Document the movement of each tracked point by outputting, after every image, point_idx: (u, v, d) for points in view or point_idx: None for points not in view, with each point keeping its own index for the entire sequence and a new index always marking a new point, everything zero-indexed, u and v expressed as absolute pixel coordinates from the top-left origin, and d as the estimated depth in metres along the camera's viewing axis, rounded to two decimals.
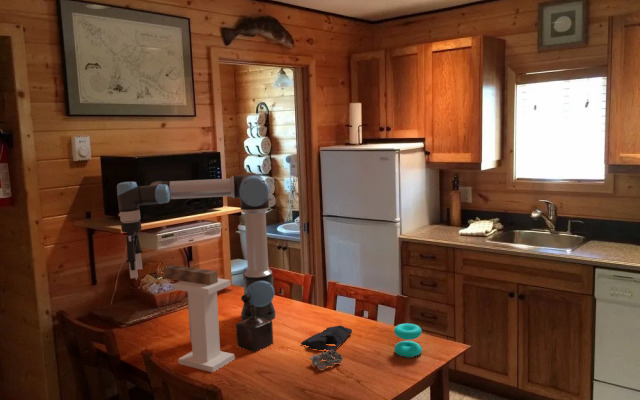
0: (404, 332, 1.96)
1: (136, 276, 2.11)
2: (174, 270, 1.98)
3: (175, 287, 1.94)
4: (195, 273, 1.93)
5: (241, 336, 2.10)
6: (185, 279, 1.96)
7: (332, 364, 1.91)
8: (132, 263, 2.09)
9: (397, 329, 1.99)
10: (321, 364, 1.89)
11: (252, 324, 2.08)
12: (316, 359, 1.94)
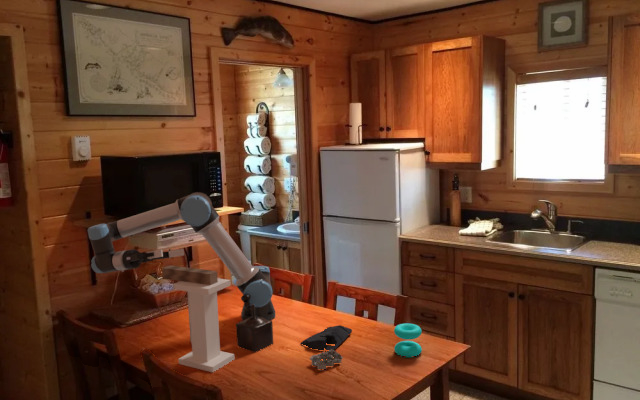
0: (404, 332, 1.96)
1: (160, 250, 2.02)
2: (173, 270, 1.98)
3: (175, 287, 1.94)
4: (195, 273, 1.93)
5: (241, 336, 2.10)
6: (184, 279, 1.96)
7: (332, 364, 1.91)
8: (145, 254, 2.03)
9: (397, 329, 1.99)
10: (321, 364, 1.89)
11: (252, 324, 2.08)
12: (316, 359, 1.95)
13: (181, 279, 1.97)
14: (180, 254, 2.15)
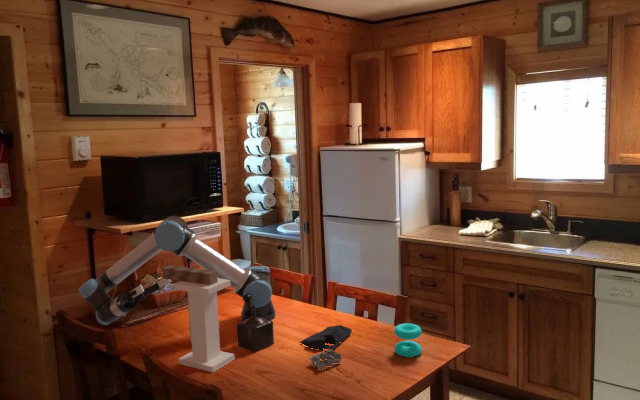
0: (404, 332, 1.96)
1: (139, 286, 2.01)
2: (173, 270, 1.98)
3: (175, 287, 1.94)
4: (195, 273, 1.93)
5: (241, 336, 2.10)
6: (184, 279, 1.96)
7: (332, 364, 1.91)
8: (129, 294, 2.03)
9: (397, 329, 1.99)
10: (321, 364, 1.89)
11: (252, 324, 2.08)
12: (315, 359, 1.95)
13: (181, 279, 1.97)
14: (167, 281, 2.13)
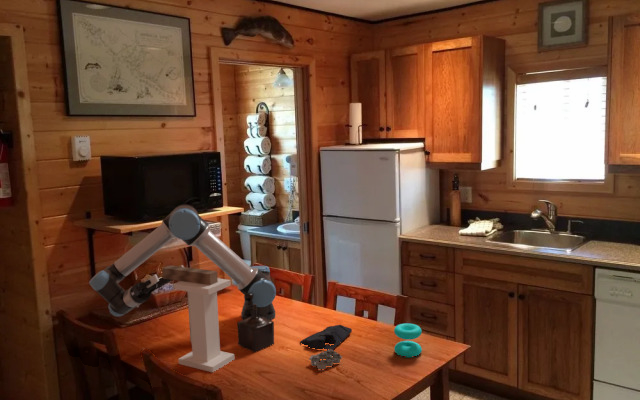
0: (404, 332, 1.96)
1: (154, 276, 1.96)
2: (173, 270, 1.98)
3: (175, 287, 1.94)
4: (195, 273, 1.93)
5: (242, 335, 2.10)
6: (184, 279, 1.96)
7: (331, 364, 1.92)
8: (143, 284, 1.98)
9: (397, 329, 1.99)
10: (321, 364, 1.89)
11: (253, 324, 2.08)
12: (315, 359, 1.95)
13: (181, 279, 1.97)
14: None
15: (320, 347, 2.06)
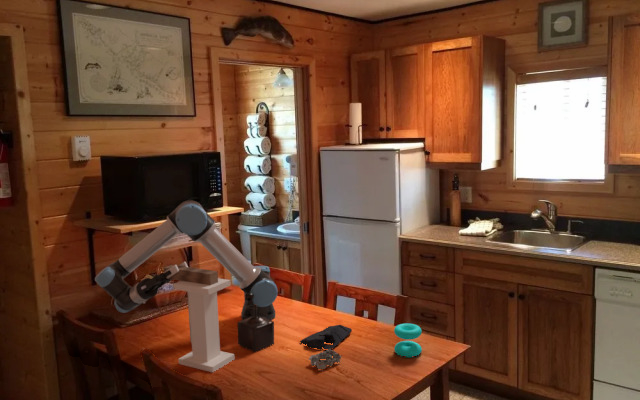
0: (404, 332, 1.96)
1: (174, 266, 1.97)
2: None
3: (175, 287, 1.94)
4: (195, 273, 1.93)
5: (242, 335, 2.10)
6: (185, 279, 1.96)
7: (331, 363, 1.92)
8: (163, 275, 1.99)
9: (397, 329, 1.99)
10: (320, 364, 1.90)
11: (253, 324, 2.08)
12: (315, 359, 1.95)
13: (182, 279, 1.97)
14: None
15: (319, 347, 2.06)
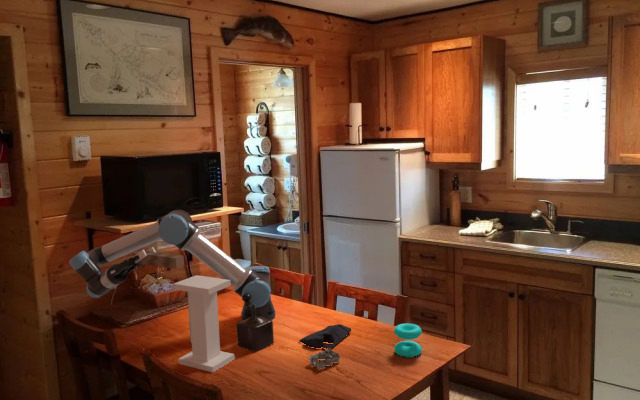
0: (404, 332, 1.96)
1: (142, 251, 2.04)
2: None
3: (175, 287, 1.94)
4: (162, 257, 2.00)
5: (241, 336, 2.10)
6: (152, 263, 2.03)
7: (331, 363, 1.92)
8: (132, 259, 2.05)
9: (397, 329, 1.99)
10: (320, 364, 1.90)
11: (252, 324, 2.08)
12: (314, 359, 1.95)
13: (149, 263, 2.04)
14: None
15: (318, 346, 2.07)
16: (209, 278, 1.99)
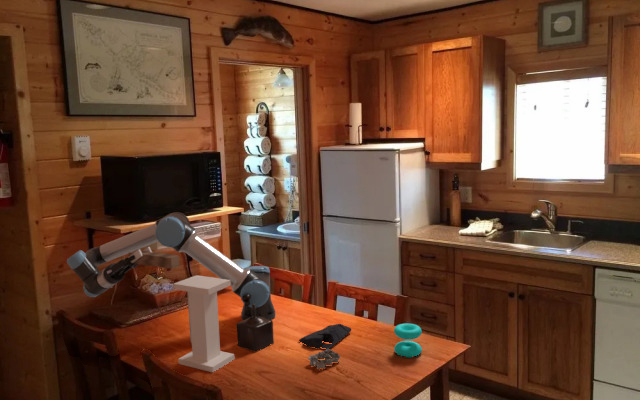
0: (404, 332, 1.96)
1: (138, 251, 2.05)
2: None
3: (175, 287, 1.94)
4: (158, 257, 2.02)
5: (241, 336, 2.10)
6: (148, 263, 2.04)
7: (330, 363, 1.92)
8: (128, 259, 2.07)
9: (397, 329, 1.99)
10: (320, 363, 1.90)
11: (253, 324, 2.09)
12: (314, 359, 1.95)
13: (145, 263, 2.05)
14: None
15: (317, 346, 2.07)
16: (209, 278, 1.99)
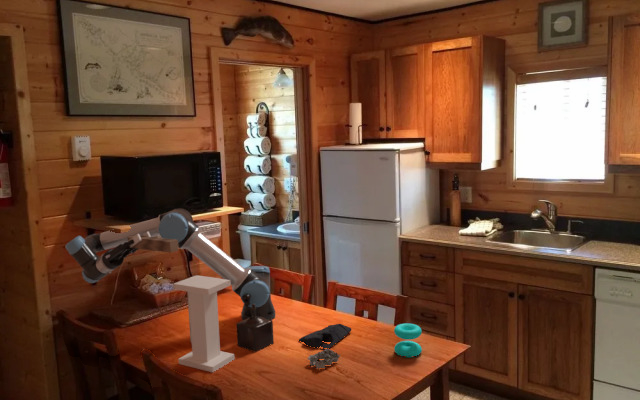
0: (404, 332, 1.96)
1: (137, 235, 2.04)
2: None
3: (175, 287, 1.94)
4: (156, 241, 2.01)
5: (241, 336, 2.10)
6: (147, 247, 2.04)
7: (330, 363, 1.92)
8: (126, 244, 2.06)
9: (397, 329, 1.99)
10: (320, 363, 1.90)
11: (252, 324, 2.09)
12: (313, 359, 1.95)
13: (144, 247, 2.04)
14: None
15: (317, 345, 2.08)
16: (209, 278, 1.99)
